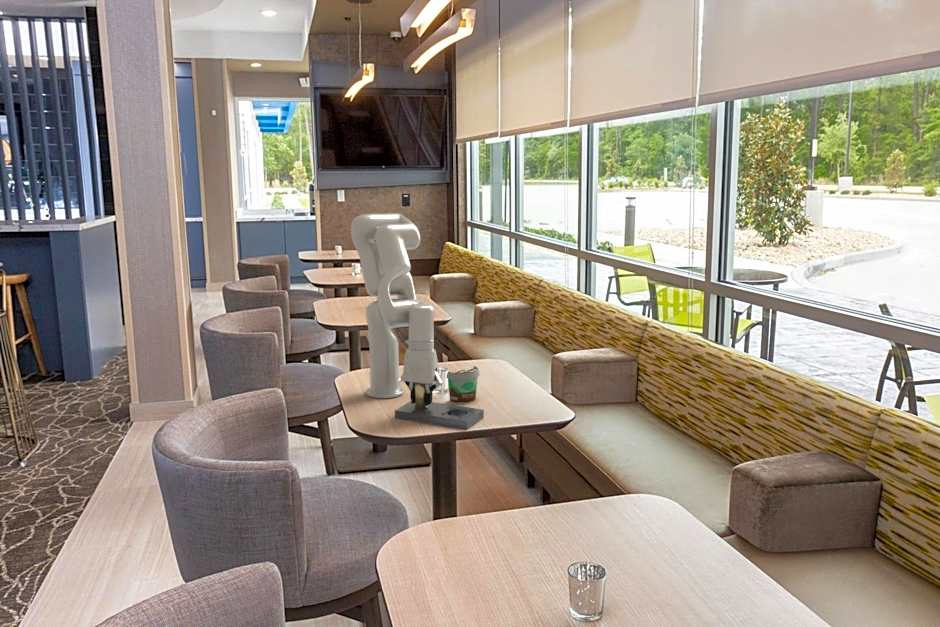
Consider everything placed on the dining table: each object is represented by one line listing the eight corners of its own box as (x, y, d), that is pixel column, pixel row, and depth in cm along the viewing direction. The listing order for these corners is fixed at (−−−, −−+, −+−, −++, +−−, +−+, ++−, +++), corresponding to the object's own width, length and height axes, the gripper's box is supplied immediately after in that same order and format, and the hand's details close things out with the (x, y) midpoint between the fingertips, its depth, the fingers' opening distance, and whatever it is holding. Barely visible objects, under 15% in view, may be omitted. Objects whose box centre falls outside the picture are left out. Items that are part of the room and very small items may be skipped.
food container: (458, 406, 245) (458, 375, 243) (446, 401, 250) (446, 371, 248) (487, 398, 253) (487, 369, 251) (474, 394, 258) (475, 365, 256)
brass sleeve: (418, 404, 238) (418, 378, 237) (430, 406, 237) (430, 380, 235) (412, 407, 235) (412, 382, 233) (424, 409, 233) (424, 383, 231)
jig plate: (413, 407, 244) (413, 399, 243) (483, 417, 234) (483, 409, 234) (394, 418, 233) (394, 410, 233) (467, 429, 223) (467, 421, 223)
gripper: (390, 344, 232) (391, 403, 235) (440, 350, 225) (440, 410, 229) (403, 339, 239) (403, 396, 242) (451, 345, 232) (451, 403, 235)
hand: (421, 402), depth 235 cm, fingers closed on brass sleeve, 4 cm apart
